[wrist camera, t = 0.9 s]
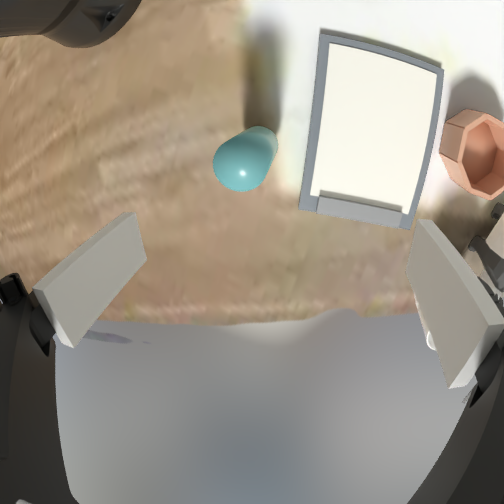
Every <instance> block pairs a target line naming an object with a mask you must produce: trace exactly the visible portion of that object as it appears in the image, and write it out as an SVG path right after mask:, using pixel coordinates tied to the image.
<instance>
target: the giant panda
mask: <svg viewBox="0 0 504 504" xmlns="http://www.w3.org/2000/svg"><path fill="white" fill-rule="evenodd" d="M491 216H492V218H494V219H498V218H500V219H499V221H498V222H497V224H496V225H495V227H494V228H493V230H492V231H491V233H490V234H489V236H488V237H487V239H486V240H483V239H482V238H481V237H480V236H476V237H475V238H474V239H473V240H472V241H471V243H470V244H469V246H468V248H469V250H470V251H473V252H474V251H476V252H477V253H478V255H479V257H480V259H481V261H482V263H483V266H484V270H483V271H482V273H481V274H480V276H479V277H480V278H481V279H482V280H483V281H485V282H486V283H487V284H488V285H489V286H490V288H491V289H492V291H493V292H494V295H495V296H496V297H497V298H498V300H499V303H501V304H502V306H503V300H502V298H501V294H502V292H504V205H503V204H501V203H499V202H498V203H497V205H496V206H495V207H494V209H493V211H492V213H491Z"/></svg>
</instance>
